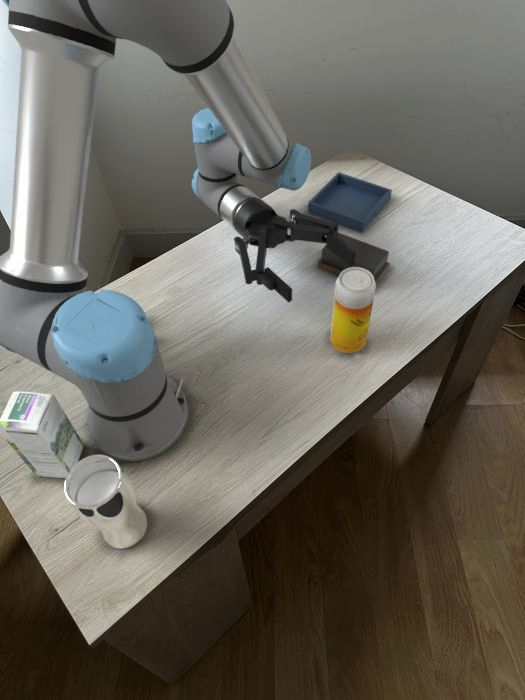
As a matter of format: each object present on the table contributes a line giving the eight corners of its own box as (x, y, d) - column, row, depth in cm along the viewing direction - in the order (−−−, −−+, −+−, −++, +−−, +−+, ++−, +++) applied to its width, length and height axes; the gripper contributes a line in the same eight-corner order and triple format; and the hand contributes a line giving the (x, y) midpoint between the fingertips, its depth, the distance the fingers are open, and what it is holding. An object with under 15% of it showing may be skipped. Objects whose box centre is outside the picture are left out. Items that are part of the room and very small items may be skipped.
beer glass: (130, 492, 74) (100, 441, 62) (161, 525, 71) (135, 478, 59) (89, 527, 71) (50, 481, 60) (119, 563, 68) (84, 522, 56)
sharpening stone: (317, 267, 102) (318, 249, 98) (334, 247, 105) (336, 229, 102) (372, 290, 97) (375, 272, 94) (389, 268, 101) (392, 250, 97)
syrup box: (49, 442, 80) (10, 389, 68) (86, 445, 79) (53, 392, 68) (36, 476, 76) (-9, 427, 65) (74, 480, 76) (36, 430, 64)
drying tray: (307, 212, 113) (308, 202, 111) (337, 182, 119) (338, 171, 117) (362, 232, 108) (363, 222, 106) (390, 199, 114) (392, 189, 112)
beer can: (363, 358, 87) (375, 295, 76) (327, 353, 88) (333, 290, 77) (366, 331, 91) (378, 267, 79) (332, 326, 92) (338, 263, 80)
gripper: (300, 206, 104) (374, 262, 93) (195, 258, 96) (262, 327, 85) (301, 173, 98) (380, 228, 87) (189, 226, 90) (260, 295, 79)
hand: (322, 277), depth 86 cm, fingers open, 13 cm apart
